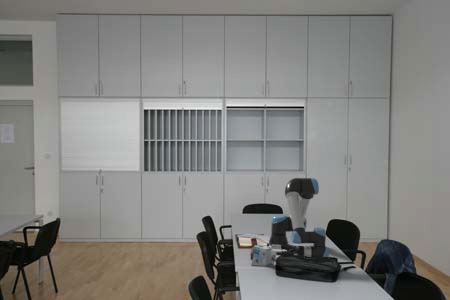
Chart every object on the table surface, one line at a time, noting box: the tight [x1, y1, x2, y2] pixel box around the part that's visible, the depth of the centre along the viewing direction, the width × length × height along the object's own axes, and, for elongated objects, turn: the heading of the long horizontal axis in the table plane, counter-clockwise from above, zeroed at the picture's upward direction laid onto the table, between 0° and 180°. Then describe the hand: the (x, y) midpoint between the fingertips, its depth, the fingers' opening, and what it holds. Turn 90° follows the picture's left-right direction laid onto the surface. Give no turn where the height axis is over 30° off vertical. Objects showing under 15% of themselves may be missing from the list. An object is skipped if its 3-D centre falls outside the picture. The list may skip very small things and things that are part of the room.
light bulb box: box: [253, 243, 273, 265], centre depth 230 cm, size 11×7×11 cm, turn 45°
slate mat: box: [250, 259, 274, 268], centre depth 230 cm, size 12×14×1 cm
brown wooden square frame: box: [250, 246, 274, 261], centre depth 245 cm, size 16×16×4 cm
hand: (271, 249), depth 229 cm, fingers open, 13 cm apart
